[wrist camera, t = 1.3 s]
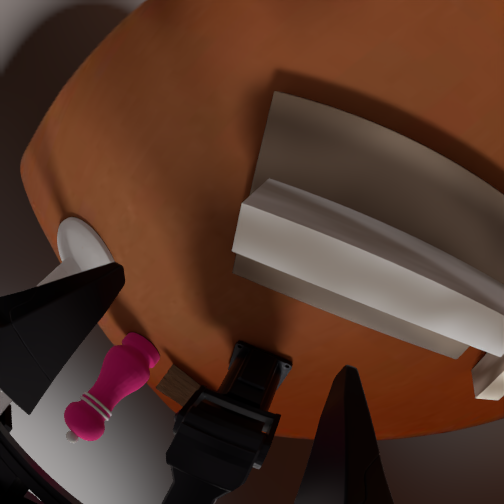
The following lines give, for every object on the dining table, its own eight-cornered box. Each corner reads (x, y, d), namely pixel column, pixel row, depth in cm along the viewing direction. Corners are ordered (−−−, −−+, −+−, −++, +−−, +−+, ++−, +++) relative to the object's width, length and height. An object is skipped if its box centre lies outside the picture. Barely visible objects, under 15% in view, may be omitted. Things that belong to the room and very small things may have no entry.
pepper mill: (138, 356, 42) (71, 441, 26) (118, 325, 39) (40, 415, 23) (169, 366, 39) (100, 465, 23) (150, 334, 36) (65, 440, 20)
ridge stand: (454, 347, 20) (461, 399, 15) (239, 263, 24) (206, 309, 19) (541, 225, 12) (578, 267, 7) (280, 91, 15) (245, 88, 11)
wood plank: (169, 364, 39) (153, 388, 35) (175, 362, 38) (158, 386, 34) (240, 418, 41) (229, 441, 37) (248, 417, 40) (237, 441, 36)
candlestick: (111, 232, 28) (-79, 413, 4) (127, 311, 35) (-3, 464, 11) (53, 207, 31) (-100, 333, 7) (72, 278, 38) (-46, 396, 14)
